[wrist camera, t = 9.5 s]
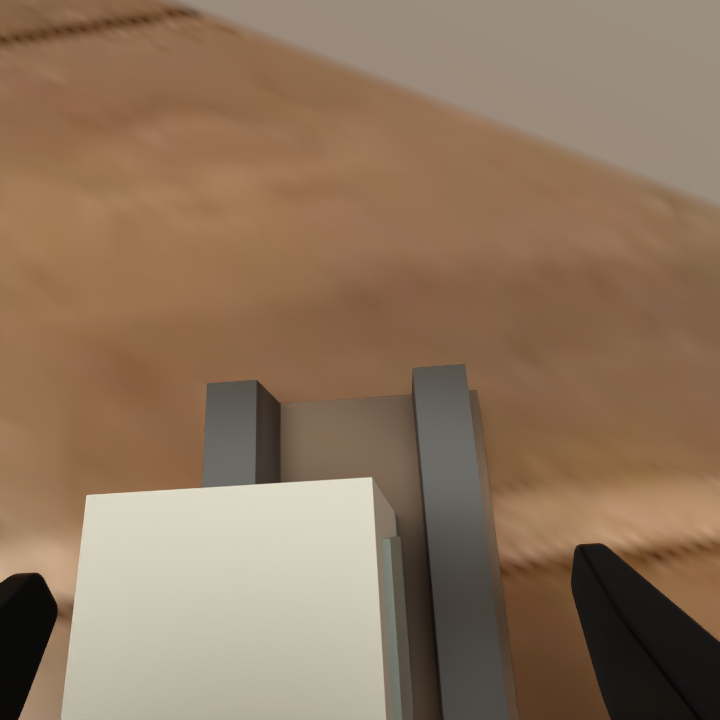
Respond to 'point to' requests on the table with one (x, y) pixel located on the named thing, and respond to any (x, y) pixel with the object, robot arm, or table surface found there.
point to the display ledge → (413, 509)
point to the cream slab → (240, 606)
